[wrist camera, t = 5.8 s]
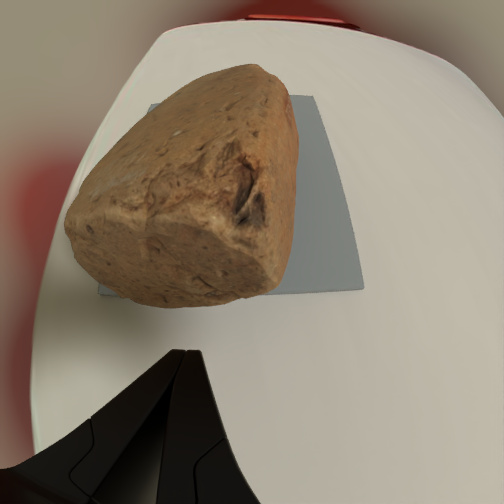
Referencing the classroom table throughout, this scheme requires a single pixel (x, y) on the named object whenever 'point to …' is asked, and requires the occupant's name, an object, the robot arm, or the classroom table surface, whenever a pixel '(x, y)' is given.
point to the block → (195, 196)
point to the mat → (315, 216)
